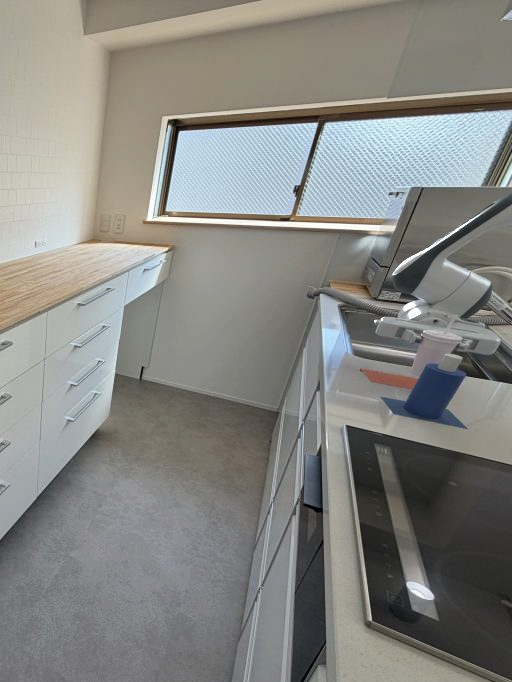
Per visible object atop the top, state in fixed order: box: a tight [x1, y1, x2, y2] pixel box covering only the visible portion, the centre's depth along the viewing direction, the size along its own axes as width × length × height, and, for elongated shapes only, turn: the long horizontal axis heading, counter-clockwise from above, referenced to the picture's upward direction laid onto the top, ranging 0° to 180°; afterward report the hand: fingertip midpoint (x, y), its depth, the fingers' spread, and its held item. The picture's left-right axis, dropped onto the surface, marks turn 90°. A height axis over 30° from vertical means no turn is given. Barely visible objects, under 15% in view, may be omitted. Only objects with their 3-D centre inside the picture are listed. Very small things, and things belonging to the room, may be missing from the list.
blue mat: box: [380, 395, 469, 430], centre depth 89 cm, size 12×9×1 cm
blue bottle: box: [403, 353, 467, 419], centre depth 85 cm, size 6×6×13 cm
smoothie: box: [409, 315, 463, 377], centre depth 91 cm, size 6×6×14 cm
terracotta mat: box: [359, 368, 419, 390], centre depth 103 cm, size 13×9×1 cm
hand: (439, 344), depth 90 cm, fingers closed on smoothie, 6 cm apart
